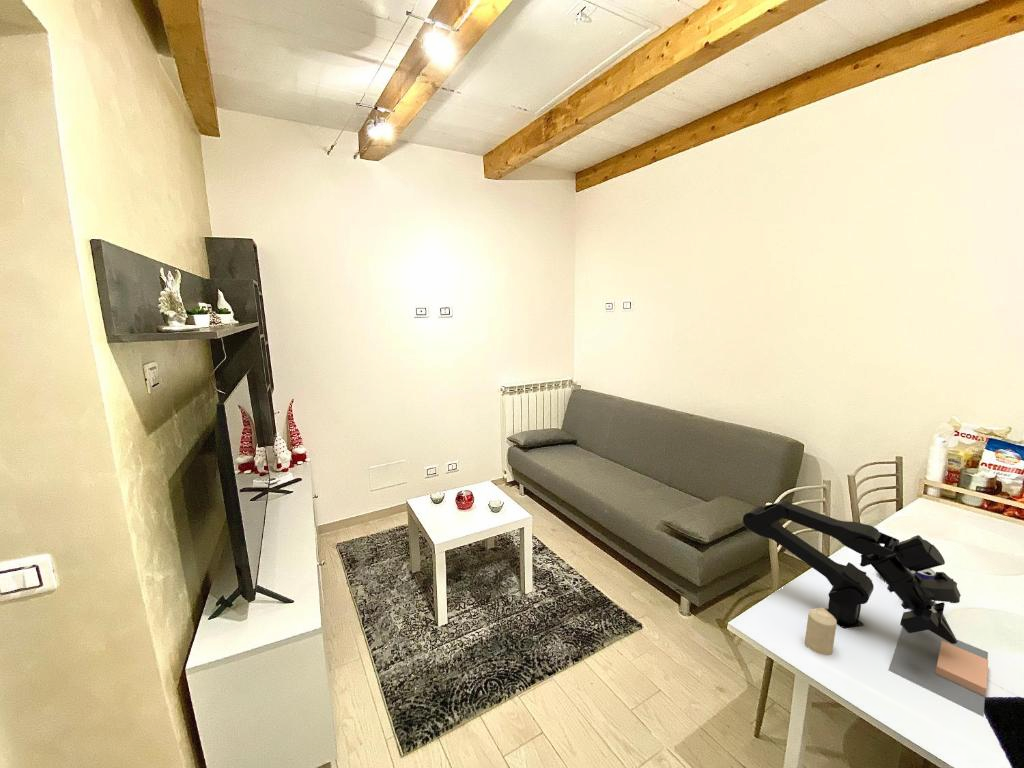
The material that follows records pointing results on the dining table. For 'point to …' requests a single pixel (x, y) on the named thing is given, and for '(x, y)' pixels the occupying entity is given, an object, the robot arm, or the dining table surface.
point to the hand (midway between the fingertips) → (954, 642)
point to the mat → (933, 667)
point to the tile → (963, 668)
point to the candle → (820, 631)
